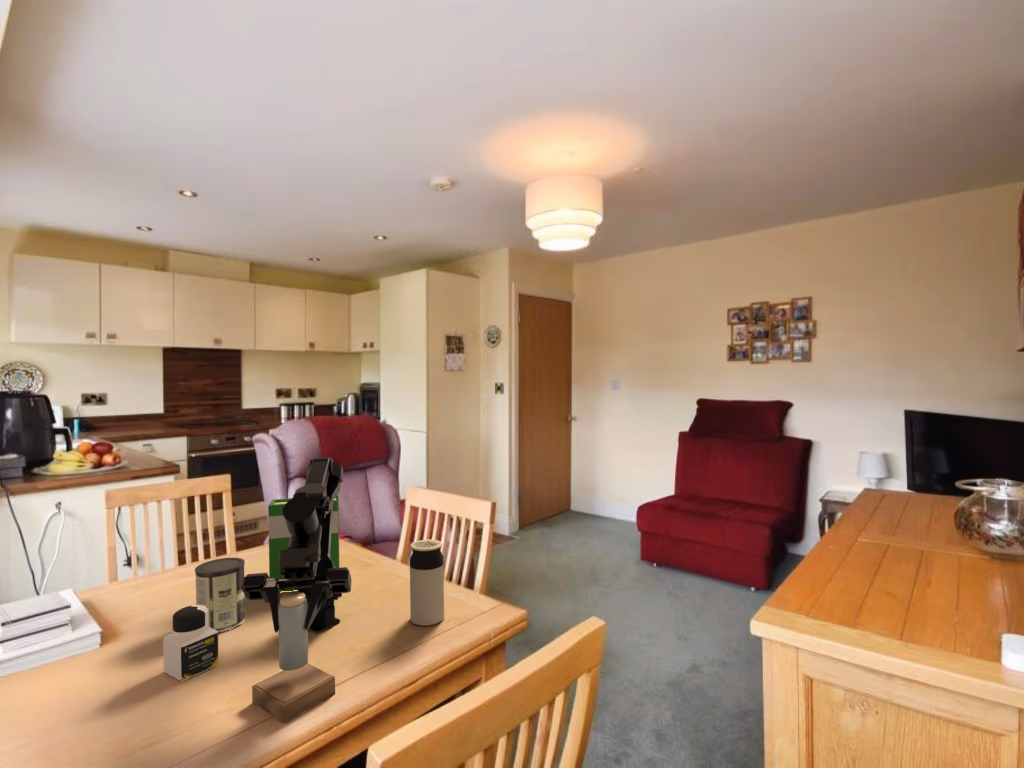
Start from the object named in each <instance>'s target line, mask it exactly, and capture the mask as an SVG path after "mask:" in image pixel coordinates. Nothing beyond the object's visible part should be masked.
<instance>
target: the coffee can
mask: <svg viewBox="0 0 1024 768" xmlns="http://www.w3.org/2000/svg"><path fill="white" fill-rule="evenodd" d="M245 562H246V561H245V559H243V558H240V557H223V558H216V559H213V560H210V561H205V562H203V563H200V564H199V565H197V566H196V567H195V568H194V572H195V597H196V598H195V599H196V600H195V603H196V604H195V605H202V606H206V607H207V608H208V627H210V628H212V629H215V630H217V631H218V632H221V633H223V632H222V631H225V632H227V631H226V630H229V629H232V628H234V627H236V626H238V625H240V624H241V623H243V622H244V623H245V621H246V620H245V619H247V617H246V596H245V594H244V593H243V591H242V589H241V585H242V580H243V579H244V577H245V564H246V563H245ZM244 620H245V621H244ZM244 623H243V624H244ZM241 625H242V624H241ZM241 625H240V626H241ZM238 627H239V626H238ZM236 628H237V627H236ZM234 629H235V628H234ZM232 630H233V629H232ZM229 631H230V630H229Z"/></svg>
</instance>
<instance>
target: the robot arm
mask: <svg viewBox="0 0 1024 768" xmlns="http://www.w3.org/2000/svg"><path fill="white" fill-rule="evenodd" d="M341 483H344V468H343V465H342V464H341V463H339V462H336V461H334V460H333V458H332V457H314V458H310V461H309V464H308V465H307V466H306V479H305V483H304V485H303V486H301V487H299V488H296V490H294V491H295V492H294V494H293V495H292V497H290V498H291V499H290V500H289V501H288V502H287V503H286V504H285V506H284V507H283V516H284V519H285V522H286V525H287V528H288V531H289V533H290V534H291V537H290V543H289V547H288V548H287V549H286V550H280V553H279V564H278V569H280V568H281V569H280V573H281V575H284V577H283V579H276V578H269V574H268V572H258V573H247V574H246V575H244V579H243V580H242V585H241V589H242V591H243V593H244V594H245V599H247V600H249V601H258V600H259V601H260V600H261V601H262V600H264V603H266V604H269V607H270V611H271V612H270V613H271V618H272V624H273V630H274V633H276V634H277V633H279V622H278V604H279V603H280V598H281V597H282V594H281V593H280V592H281V590H283V589H296V588H298V591H297V592H301V593H304V594H305V598H306V599H307V617H306V624H305V629H306V630H308V631H312V632H314V633H320V632H322V631H324V630H326V629H328V628H330V627H333V626H335V625H337V624H339V623H340V622H341V619H339V618H337V617H336V608H335V601H338V600H339V598H341V597H343V594H349V593H350V592H351V591H352V576H351V571H350V569H349V568H348V567H346V566H345V567H344V566H343V567H339V568H335V566H334V564H333V562H332V560H331V558H330V547H331V530H332V513H333V500H334V499H335V497H336V496H337V495H339V493H340V491H341V487H342V486H341V485H342V484H341Z"/></svg>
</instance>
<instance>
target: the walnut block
mask: <svg viewBox="0 0 1024 768" xmlns="http://www.w3.org/2000/svg"><path fill="white" fill-rule="evenodd" d="M251 690H252V691H251V692H252V693H251V694H252V697H251V699H252V700H251V701H252V702H253V703H252V702H251V703H252V704H254V705H255V704H256V705H255V706H257V707H258V706H259V708H260V709H261V708H262V709H261V710H263V711H264V710H265V711H264V712H266V713H267V712H268V714H269V715H270V716H272V717H274V718H275V719H277V720H278V719H279V720H278V721H280V722H281V721H282V722H281V723H283V724H286V723H287V721H288V722H289V721H291V720H292V719H293V720H294V718H296V717H297V716H300V715H301V714H303V713H305V712H306V711H307V710H309V708H310V709H311V708H314V707H315V706H317V705H319V704H320V703H321V702H324V701H325V700H327V699H329V698H331V697H332V696H333V695H335V694H336V676H334V675H331V674H329V673H328V672H326V671H324V670H321V669H320V668H318V667H316V666H314V665H311V664H310V663H308V662H307V664H306V665H305V666H303V667H301V668H299V669H296V670H290V671H286V670H282V671H279V672H277V673H276V674H273V675H272V676H269V677H268V678H265V679H263V680H261V681H260V682H258V683H254V684H253V685H252V686H251ZM304 711H305V712H304ZM302 712H303V713H302ZM285 722H286V723H285Z"/></svg>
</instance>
